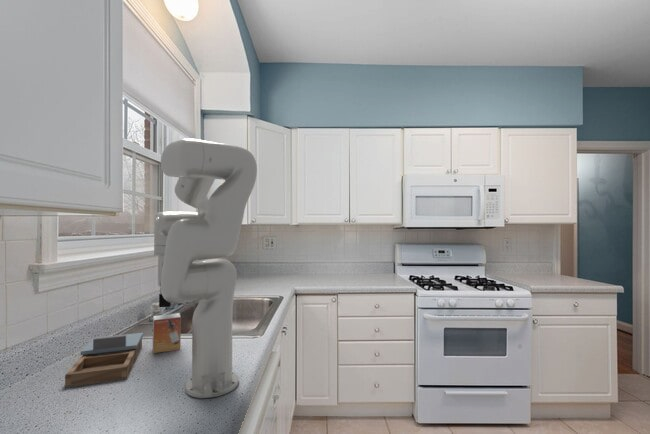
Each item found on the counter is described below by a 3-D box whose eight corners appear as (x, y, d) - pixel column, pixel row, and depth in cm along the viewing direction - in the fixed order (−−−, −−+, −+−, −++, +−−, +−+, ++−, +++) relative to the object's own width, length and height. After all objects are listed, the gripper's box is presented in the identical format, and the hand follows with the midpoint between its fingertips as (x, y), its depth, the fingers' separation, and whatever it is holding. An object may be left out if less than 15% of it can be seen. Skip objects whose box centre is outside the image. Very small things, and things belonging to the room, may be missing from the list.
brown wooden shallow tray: (126, 378, 88) (127, 366, 88) (65, 387, 83) (65, 375, 83) (141, 346, 111) (141, 337, 111) (93, 352, 106) (94, 342, 106)
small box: (152, 354, 104) (152, 320, 104) (152, 348, 109) (152, 315, 109) (180, 349, 108) (181, 316, 108) (179, 344, 113) (179, 312, 113)
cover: (136, 348, 100) (136, 334, 100) (80, 355, 95) (80, 340, 95) (143, 335, 111) (143, 323, 111) (93, 340, 106) (93, 328, 106)
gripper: (178, 252, 102) (177, 309, 102) (181, 247, 119) (180, 295, 119) (150, 253, 100) (149, 311, 100) (157, 247, 116) (156, 297, 116)
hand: (166, 302), depth 109 cm, fingers open, 9 cm apart
